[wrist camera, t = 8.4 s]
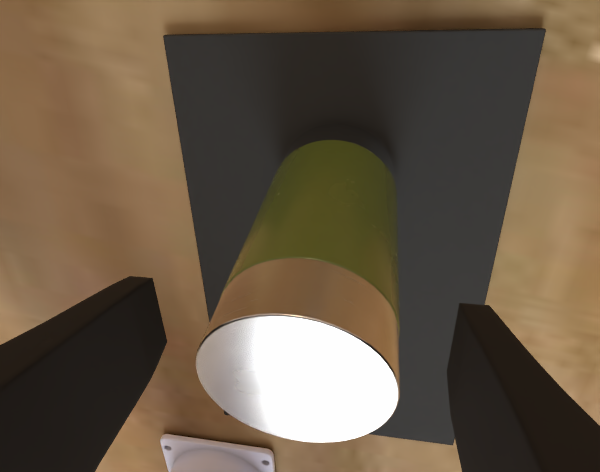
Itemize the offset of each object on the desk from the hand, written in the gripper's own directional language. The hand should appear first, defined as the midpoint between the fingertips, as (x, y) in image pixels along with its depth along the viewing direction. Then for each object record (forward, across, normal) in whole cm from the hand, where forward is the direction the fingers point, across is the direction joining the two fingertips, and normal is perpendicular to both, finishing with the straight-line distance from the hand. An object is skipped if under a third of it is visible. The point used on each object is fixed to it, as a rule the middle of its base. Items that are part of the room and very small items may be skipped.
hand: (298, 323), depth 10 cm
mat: (+10, 0, +5) cm, 11 cm away
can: (+9, 0, 0) cm, 9 cm away
